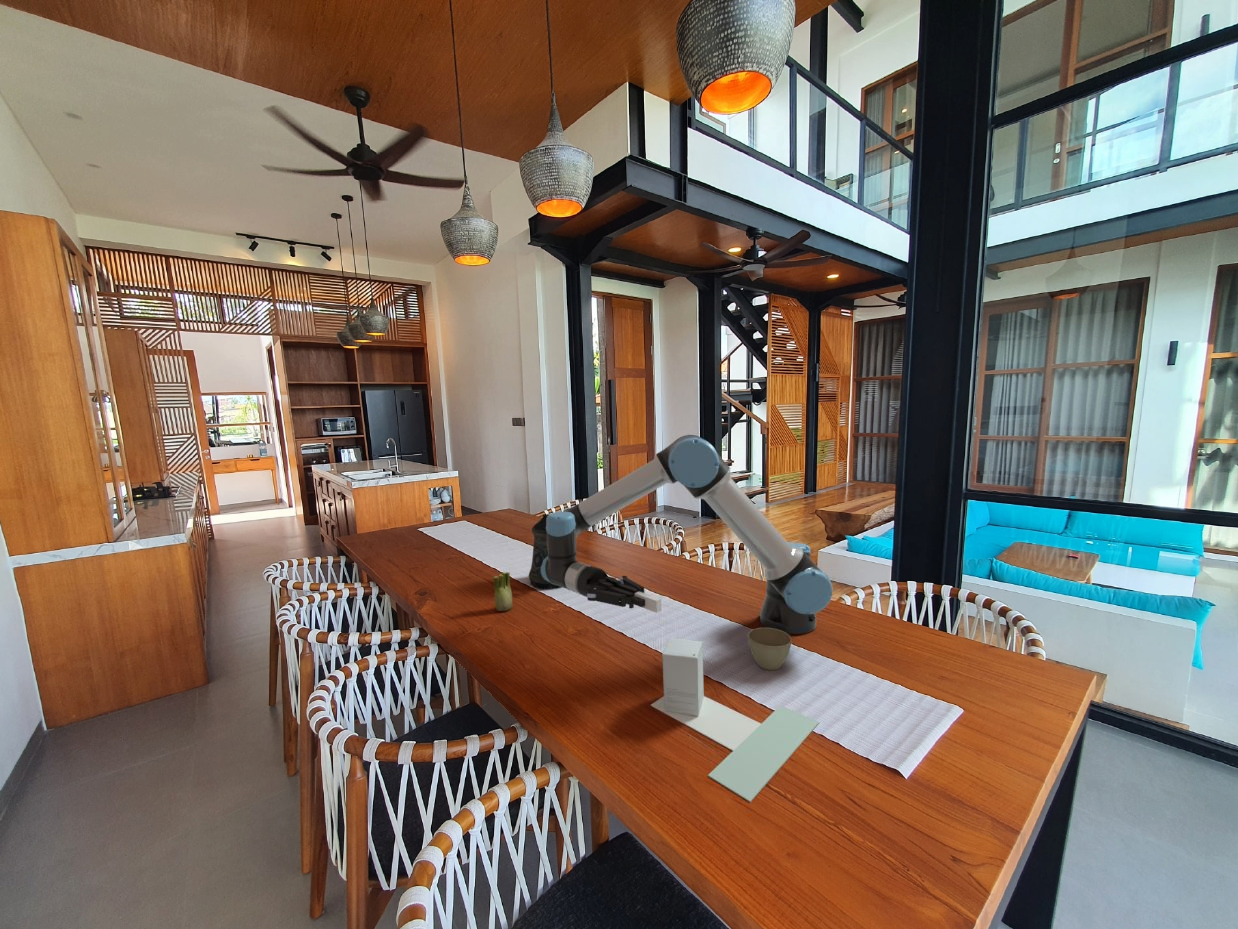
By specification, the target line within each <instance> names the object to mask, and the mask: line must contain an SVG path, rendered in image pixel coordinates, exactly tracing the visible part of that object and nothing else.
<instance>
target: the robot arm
mask: <svg viewBox="0 0 1238 929" xmlns="http://www.w3.org/2000/svg"><path fill="white" fill-rule="evenodd" d="M677 482H678V483H680V484H681V485H682V486H684V488H685V489H686V490H687V491H688V492H689V493H690V495H691V496H693V498H694V499H697V500H704V501H705V502H706V503H707V504H708V505H709V507H710V508H711V509H712V510H713V511H714V512H715V513H716V515H717V516H718V517H719V518H720V519H721V520H722V521H723V522H724V524H725V525H726V526H727V527H728V528H729V529H730V530H731V532H733V533H734V535H735V536H736V537H737V539H739V540H740V541H741V543H742V544H743V545H744V546H745V547H746V548H747V549H748V550H749V551H750V553H751V554H752V555H753V556H754V557H755V559H757V560H758V562H759V563H760V565H761V566H763V568H764V577H765V579H766V595H765V598H764V600H763V603H762V606H761V609H760V612H759V614H760V615H759V617H760V618H759V620H760V623H761V624H762V625H763V626H764V627H765V628H774V629H778V630H781V631H783V632H785V633H787V634H788V635H802V634H809V633H810V632H814V630H815V629H816V627H817V616H816V614H817V613H819V612H821V611H823V610H824V609H825V608H826V607H827V606H828V605H829V604H830V602H831V600H832V598H833V591H834V589H833V584H832V582H831V579H830V578H829V577H828V575H827V574H826V572H823V571H822V570H821V569H820V567H818V565H817V564H816V563H815V562H814V561H813V559H811V556H812V552H811V547H810V546H809V545H807V544H805V543H801V542H791V541H790V542H788V541H787V539H786V538H785V537H784V536H783V535H782V534H781V533H780V532H779V530H778V529H777V528H776V527H775V526H774V525H773V524H772V523H771V521H770V520H768V518H767V517H766V516H765V515H764V514H763V512H762V511H761V510H760V509H759V508H758V506H757V505H755V503H754V502H753V501H752V499H750V498H749V496H748V495H746V493H744V491H743V490H742V488H740V487H739V485H738V484H737V483H736V482H735V480H733V479H732V477H731V467H730V466H729V465H728V464H727V463H726V461H725V460H724V459H723V458H722V457H721V455H720V454H719V453H718V452H717V450H716V449H715V447H714V446H713V445H712V444H711V443H710V442H709V441H707V440H706V439H704V438H702V437H701V436H698V435H695V434H686V435H683V436H680V437H678V438H676V439H675V440H674V441H673V442H671V443H670V444H669V445H668V446H666V447H665V448H663V449H662V450H660V451H659V452H657V453H655V455H654V457H653V460H650V461H648V463H647V462H646V464H644V465H642V466H639V468H637V469H635V470H633V471H632V472H630V473H628V474H626V475H625V476H623V477H622V478H620V479H618V480H616V481H614V482H613V483H611V484H610V485H608V486H606V487H605V488H602V489H601V490H599V491H598V492H595V493H594V494H592V495H590V496H589V497H587V498H585V499H584V500H582V501H580V502H579V503H578V504H576V505H573V506H572V507H569V508H565V509H564V510H563V511H555V512H552V513H548V514H549V515H548V516H547V519H546V531H547V546H548V556H547V557H546V558H545V559H544V560H543V563H542V566H541V574H542V576H543V578H544V579H545V580H546V581H548V582H550V583H552V584H553V585H556V586H560V587H562V588H563V589H567V590H568V591H570V592H571V591H572V592H574V593H576V594H579V595H581V596H583V597H586V599H587V601H589V602H599V603H604V604H607V605H611V606H618V607H621V608H625V607H626V606H628V608H629V609H634V607H635V606H637V607H639V608H643V609H646V610H648V611H651V612H654V613H657V614H658V613H660V612H662V598H661V597H657V596H654V595H651V594H648V593H645V587H644V586H642V585H641V584H639V583H637V582H635V581H634V580H631V579H629V577H628V576H627V575H622V576H621V578H620V579H617V578H616V577H613V576H612V577H611V576H609V575H608V574H607V573H606V571H605V570H604V569H603V568H599V567H596V566H594V565H591V564H588V563H584V562H580V561H578V560H577V537H578V536H579V535H580V534H581V533H583V532H584V531H586V530H587V529H589V528H591V527H592V526H594V525H596V524H597V523H599V522H601V521H603V520H604V519H606V518H609V516H611V515H613V514H615V513H617V512H619V511H620V510H622V509H624V508H627V507H628V506H630V505H631V504H632V503H634V502H636V501H639V500H640V499H642V498H644V497H646V496H647V495H648V494H650V493H652V492H654V491H655V490H657V489H659V488H661V487H663V486H665V485H666V484H671V485H673V484H676V483H677Z"/></svg>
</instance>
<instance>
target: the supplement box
mask: <svg viewBox="0 0 1238 929" xmlns="http://www.w3.org/2000/svg"><path fill="white" fill-rule="evenodd" d="M703 652H704V650H703V641H701V640H699V641H698V640H692V639H691V640H689V639H684V638H683V639H682V638H675V637H674V638H673V637H670V638H669V640H668V641H667V644H666V646H665V648H664V650H663V651H662V654H661V656H662V657H661V658H662V677H663V678H662V680H663V682H662V684H663V696H664V707H665V711H670V712H676V713H682V714H688V715H694V716H699V713H700V709H701V705H702V701H703V698H704V696H705V692H704V691H705V690H704V656H703V654H704V653H703Z"/></svg>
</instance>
